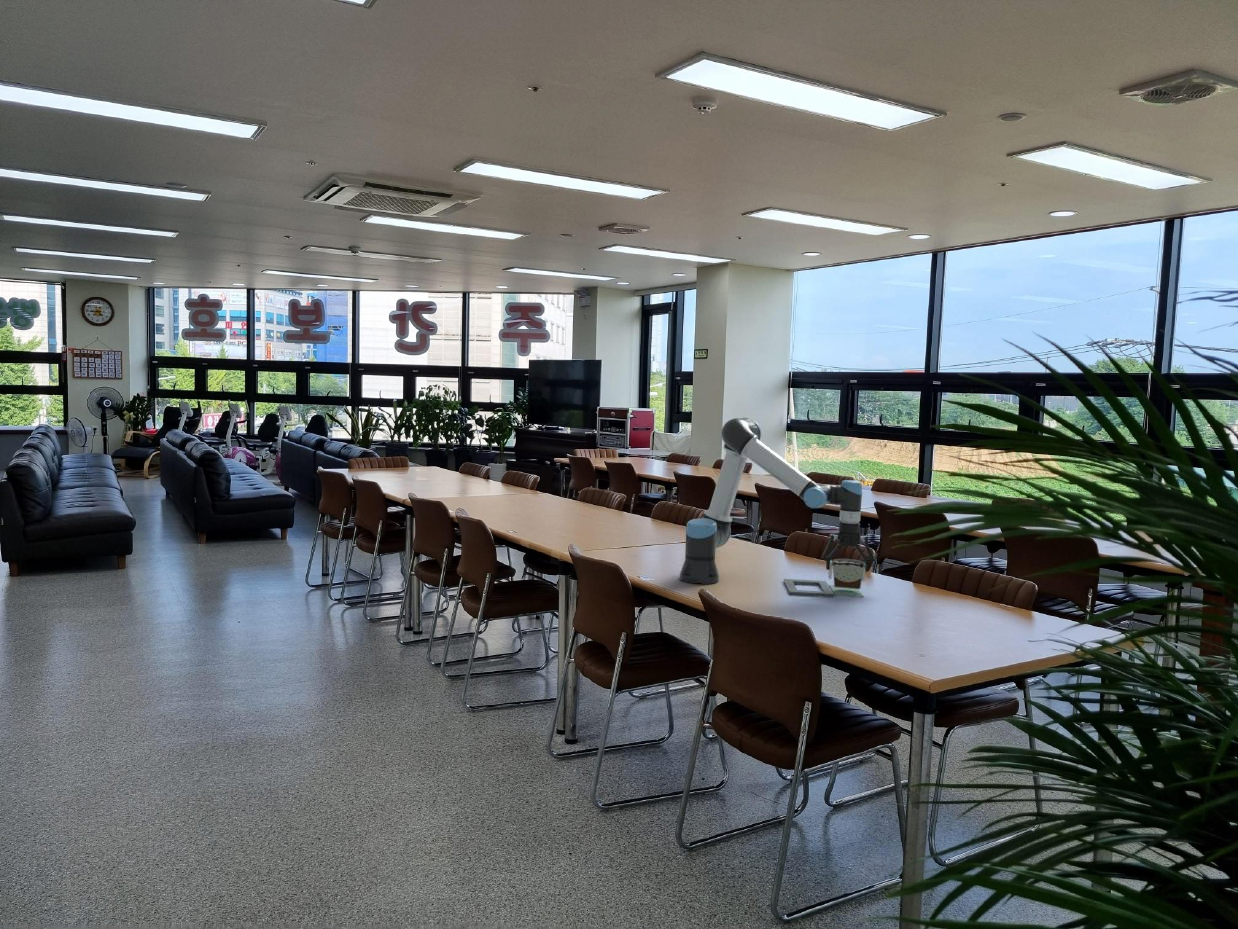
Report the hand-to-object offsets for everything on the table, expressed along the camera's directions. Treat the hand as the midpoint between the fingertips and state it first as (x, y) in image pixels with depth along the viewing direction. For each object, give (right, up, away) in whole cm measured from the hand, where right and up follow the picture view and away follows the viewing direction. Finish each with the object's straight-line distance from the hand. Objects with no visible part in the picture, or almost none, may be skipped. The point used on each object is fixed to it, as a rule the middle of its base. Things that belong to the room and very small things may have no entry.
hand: (846, 579), depth 319 cm
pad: (0, -5, 0) cm, 5 cm away
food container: (0, -3, 0) cm, 3 cm away
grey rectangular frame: (-14, -4, +2) cm, 15 cm away
